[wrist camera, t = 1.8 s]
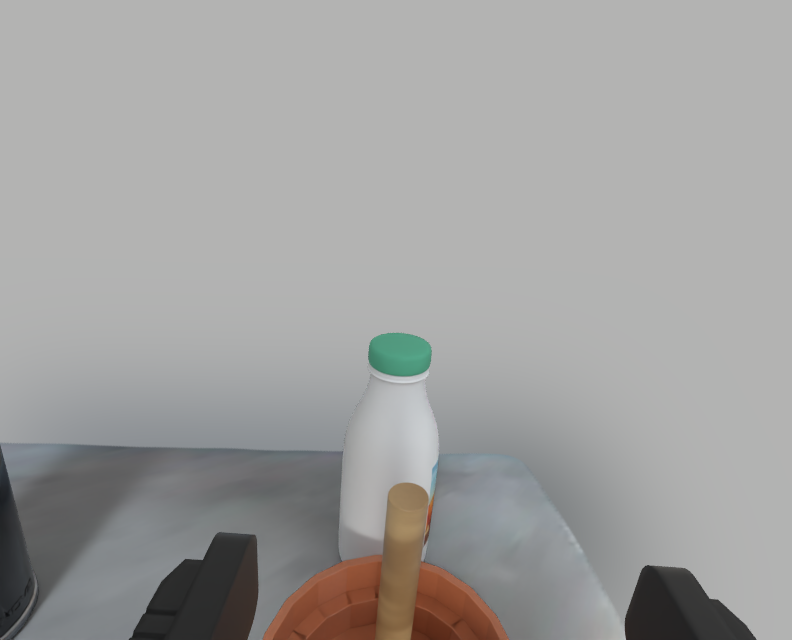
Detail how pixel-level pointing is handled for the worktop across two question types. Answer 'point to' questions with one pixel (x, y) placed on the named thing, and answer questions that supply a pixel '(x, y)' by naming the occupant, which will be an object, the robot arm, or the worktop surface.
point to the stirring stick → (401, 560)
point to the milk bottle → (387, 443)
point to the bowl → (358, 603)
